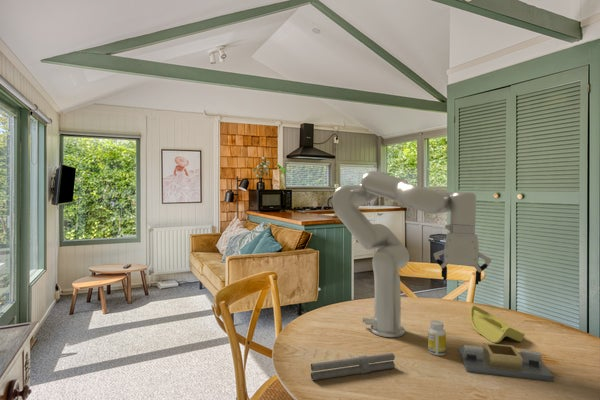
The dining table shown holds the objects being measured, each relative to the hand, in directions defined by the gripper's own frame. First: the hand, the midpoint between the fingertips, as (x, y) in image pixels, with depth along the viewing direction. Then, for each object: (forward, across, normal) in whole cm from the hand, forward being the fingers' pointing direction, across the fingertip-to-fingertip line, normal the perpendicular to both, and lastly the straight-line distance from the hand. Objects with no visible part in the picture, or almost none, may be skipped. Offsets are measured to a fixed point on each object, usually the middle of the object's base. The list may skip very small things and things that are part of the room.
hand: (460, 281), depth 118 cm
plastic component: (+23, +10, +21) cm, 33 cm away
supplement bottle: (+23, -6, -6) cm, 25 cm away
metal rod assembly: (+24, -24, -32) cm, 46 cm away
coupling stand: (+22, +12, -5) cm, 26 cm away
